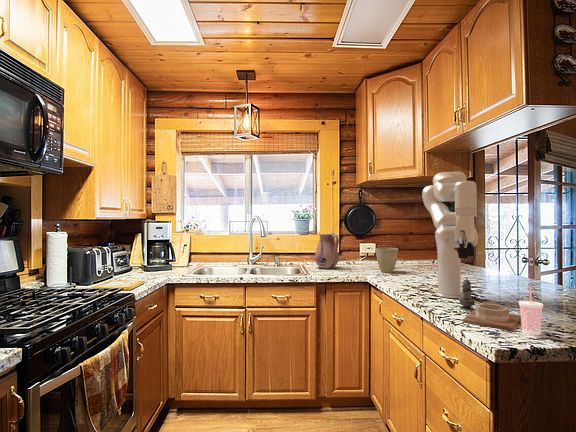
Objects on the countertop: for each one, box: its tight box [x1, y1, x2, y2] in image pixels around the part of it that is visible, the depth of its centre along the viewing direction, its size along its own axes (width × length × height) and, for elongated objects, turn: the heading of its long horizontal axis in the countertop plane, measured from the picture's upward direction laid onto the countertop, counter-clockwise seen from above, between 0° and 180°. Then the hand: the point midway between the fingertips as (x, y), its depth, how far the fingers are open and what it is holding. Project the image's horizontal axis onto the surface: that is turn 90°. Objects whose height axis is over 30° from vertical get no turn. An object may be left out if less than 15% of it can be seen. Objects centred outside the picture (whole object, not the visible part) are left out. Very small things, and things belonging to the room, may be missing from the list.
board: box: [462, 303, 521, 332], centre depth 115 cm, size 18×14×4 cm
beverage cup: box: [518, 285, 544, 336], centre depth 102 cm, size 6×6×14 cm
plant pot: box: [374, 247, 399, 274], centre depth 225 cm, size 15×15×16 cm
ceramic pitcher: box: [314, 233, 340, 270], centre depth 245 cm, size 18×21×25 cm
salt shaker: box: [458, 277, 476, 311], centre depth 130 cm, size 6×6×12 cm
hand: (466, 257), depth 130 cm, fingers open, 9 cm apart
